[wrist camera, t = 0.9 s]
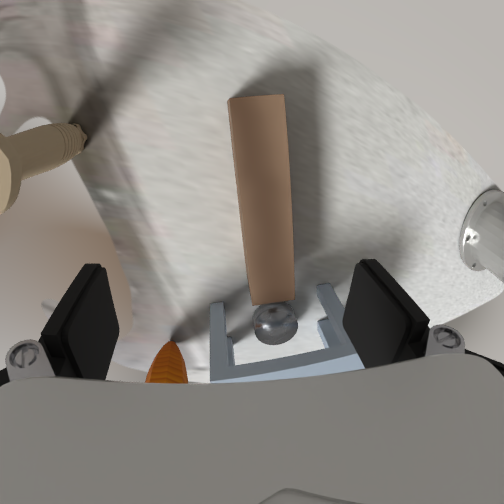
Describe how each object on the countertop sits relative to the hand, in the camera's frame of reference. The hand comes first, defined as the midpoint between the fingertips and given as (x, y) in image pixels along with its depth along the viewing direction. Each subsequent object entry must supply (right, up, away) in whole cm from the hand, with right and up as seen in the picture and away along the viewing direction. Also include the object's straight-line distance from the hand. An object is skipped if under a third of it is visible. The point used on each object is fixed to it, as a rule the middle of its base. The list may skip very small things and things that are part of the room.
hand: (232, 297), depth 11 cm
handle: (-17, +13, +14) cm, 25 cm away
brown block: (+1, +8, +19) cm, 20 cm away
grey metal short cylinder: (+3, -6, +25) cm, 26 cm away
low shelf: (+3, -6, +25) cm, 26 cm away
